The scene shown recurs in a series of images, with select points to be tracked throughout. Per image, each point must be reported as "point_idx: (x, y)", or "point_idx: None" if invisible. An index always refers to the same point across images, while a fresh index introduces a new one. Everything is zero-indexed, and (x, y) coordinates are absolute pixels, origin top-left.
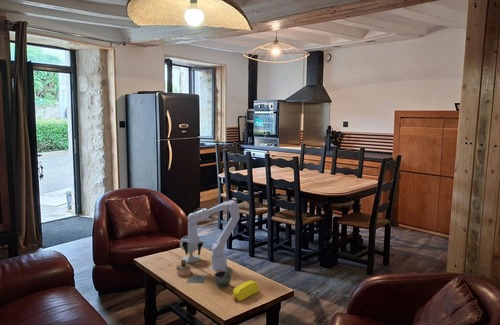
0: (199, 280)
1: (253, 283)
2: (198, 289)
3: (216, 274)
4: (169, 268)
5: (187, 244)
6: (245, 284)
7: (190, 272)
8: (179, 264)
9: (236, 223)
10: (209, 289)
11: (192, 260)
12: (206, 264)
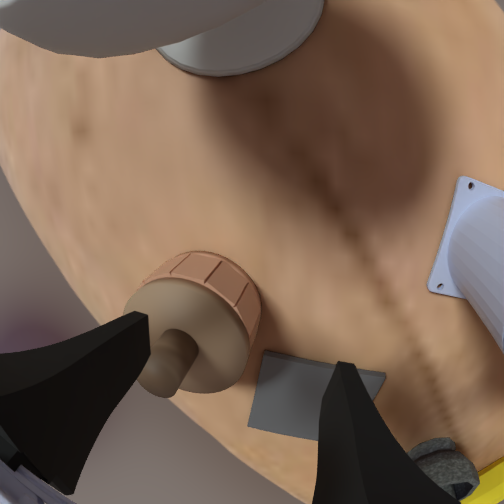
0: None
1: (498, 501)
2: (313, 465)
3: None
4: (89, 193)
5: (45, 406)
6: None
7: (257, 328)
8: (136, 307)
9: None
10: None
11: (245, 42)
12: (403, 125)
